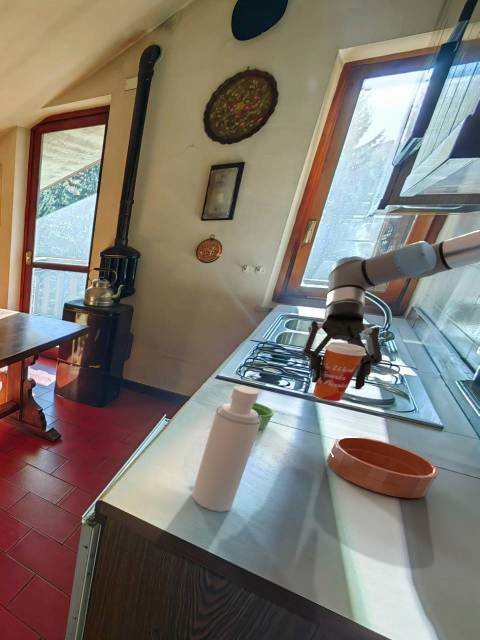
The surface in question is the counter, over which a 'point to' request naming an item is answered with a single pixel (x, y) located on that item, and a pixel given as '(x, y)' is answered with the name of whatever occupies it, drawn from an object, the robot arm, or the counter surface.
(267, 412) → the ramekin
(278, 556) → the counter surface
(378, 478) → the bowl
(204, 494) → the white bottle
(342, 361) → the paper cup
